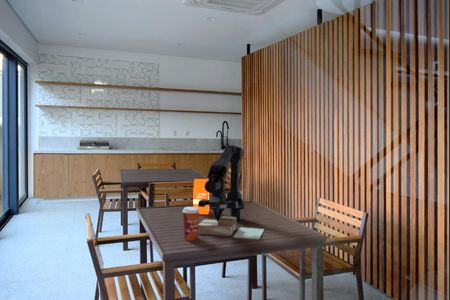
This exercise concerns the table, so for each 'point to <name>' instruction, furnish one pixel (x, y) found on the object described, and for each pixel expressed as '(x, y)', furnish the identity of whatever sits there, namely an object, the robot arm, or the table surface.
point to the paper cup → (191, 223)
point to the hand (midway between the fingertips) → (218, 221)
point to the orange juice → (200, 195)
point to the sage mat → (249, 233)
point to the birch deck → (214, 228)
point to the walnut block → (227, 221)
